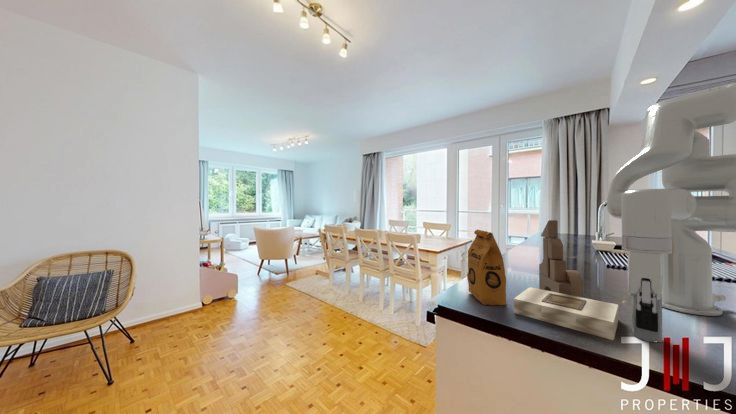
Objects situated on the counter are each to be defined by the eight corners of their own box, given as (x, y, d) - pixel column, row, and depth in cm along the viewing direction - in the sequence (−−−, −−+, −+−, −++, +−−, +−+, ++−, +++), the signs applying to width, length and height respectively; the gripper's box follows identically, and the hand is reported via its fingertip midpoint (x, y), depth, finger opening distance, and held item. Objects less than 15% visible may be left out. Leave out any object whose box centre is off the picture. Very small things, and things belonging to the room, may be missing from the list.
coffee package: (477, 306, 75) (475, 233, 75) (465, 292, 88) (464, 229, 88) (511, 307, 74) (510, 232, 74) (494, 292, 87) (493, 228, 87)
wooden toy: (585, 306, 74) (584, 221, 73) (559, 305, 75) (558, 221, 75) (558, 289, 89) (557, 218, 88) (537, 288, 90) (536, 218, 90)
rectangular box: (514, 312, 70) (513, 297, 70) (529, 299, 80) (529, 286, 80) (613, 340, 55) (613, 321, 55) (618, 320, 65) (618, 303, 65)
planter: (669, 342, 54) (668, 295, 54) (647, 343, 54) (647, 295, 54) (646, 332, 59) (645, 288, 59) (626, 332, 59) (625, 288, 59)
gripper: (624, 239, 65) (625, 309, 65) (619, 247, 53) (620, 332, 53) (669, 241, 59) (670, 319, 59) (674, 251, 48) (676, 347, 48)
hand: (646, 324), depth 56 cm, fingers closed on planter, 4 cm apart
